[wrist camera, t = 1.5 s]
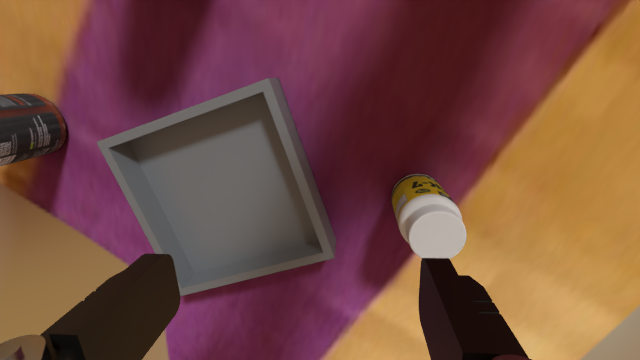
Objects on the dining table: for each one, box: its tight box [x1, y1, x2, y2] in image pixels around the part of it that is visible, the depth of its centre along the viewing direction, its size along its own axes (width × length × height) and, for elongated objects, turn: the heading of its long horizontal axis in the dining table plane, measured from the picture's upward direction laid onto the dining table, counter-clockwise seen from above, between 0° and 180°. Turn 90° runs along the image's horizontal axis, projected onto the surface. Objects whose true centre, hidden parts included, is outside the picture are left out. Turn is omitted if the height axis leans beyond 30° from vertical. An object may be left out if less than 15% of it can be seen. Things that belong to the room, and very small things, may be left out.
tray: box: [97, 78, 336, 296], centre depth 30 cm, size 17×17×4 cm
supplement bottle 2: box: [391, 174, 466, 259], centre depth 27 cm, size 5×5×8 cm
